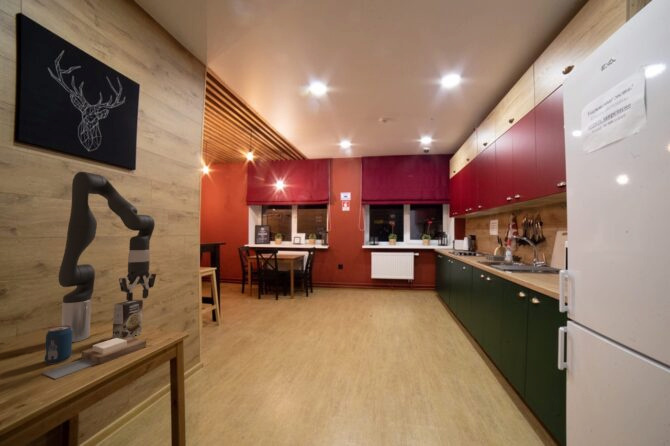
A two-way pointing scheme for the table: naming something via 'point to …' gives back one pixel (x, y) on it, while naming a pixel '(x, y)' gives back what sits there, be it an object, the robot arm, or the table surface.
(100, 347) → the tile
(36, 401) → the table surface
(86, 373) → the table surface
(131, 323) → the coffee box
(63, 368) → the mat
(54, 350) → the soda can
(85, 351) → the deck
